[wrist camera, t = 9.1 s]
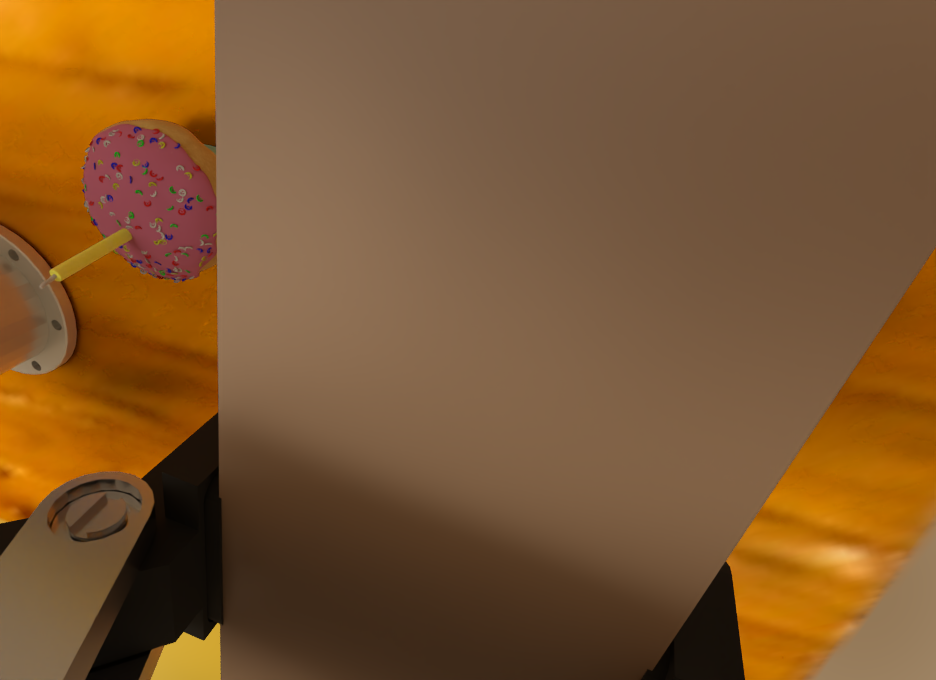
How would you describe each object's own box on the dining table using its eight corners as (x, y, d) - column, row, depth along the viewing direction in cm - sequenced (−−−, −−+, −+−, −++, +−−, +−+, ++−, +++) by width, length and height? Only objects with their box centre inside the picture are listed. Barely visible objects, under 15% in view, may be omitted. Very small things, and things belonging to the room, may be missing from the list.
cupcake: (271, 269, 37) (125, 359, 27) (155, 228, 39) (-28, 299, 28) (279, 131, 33) (108, 177, 23) (148, 89, 34) (-71, 115, 24)
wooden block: (479, -299, 7) (208, -777, 3) (962, -212, 6) (1561, -692, 2) (330, 648, 17) (222, 849, 13) (508, 725, 17) (455, 966, 12)
